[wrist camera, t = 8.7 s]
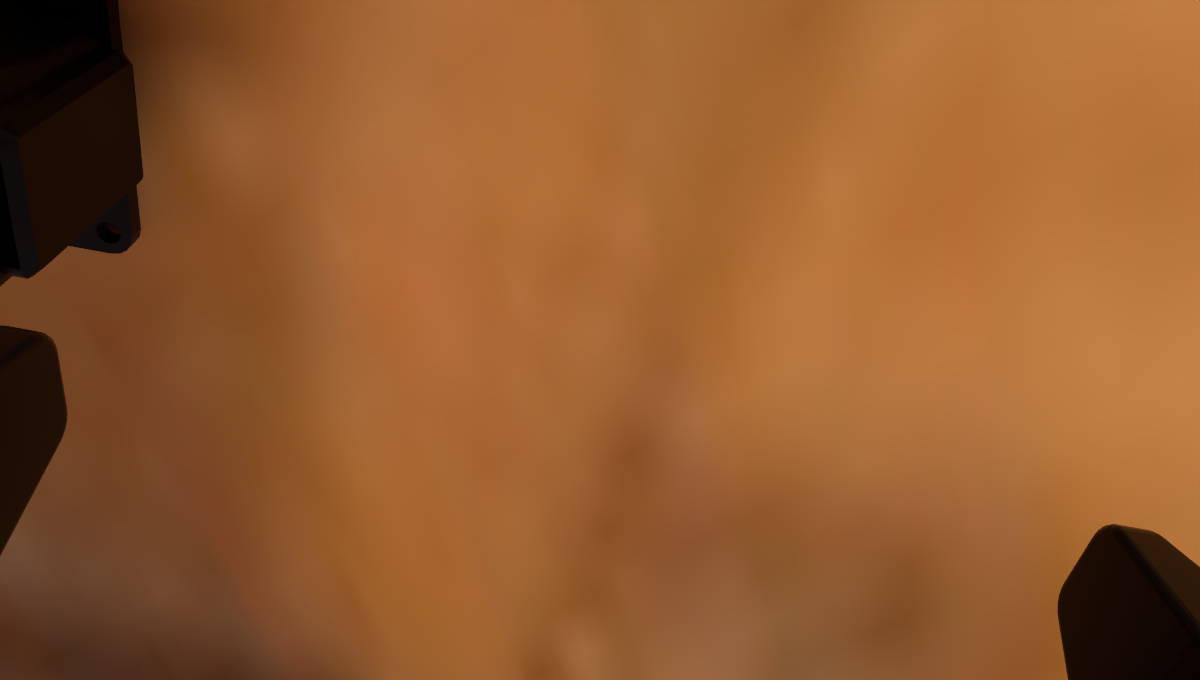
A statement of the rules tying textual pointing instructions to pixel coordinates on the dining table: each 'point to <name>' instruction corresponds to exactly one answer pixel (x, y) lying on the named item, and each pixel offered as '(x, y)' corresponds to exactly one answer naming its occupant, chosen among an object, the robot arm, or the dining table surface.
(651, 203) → the dining table surface
